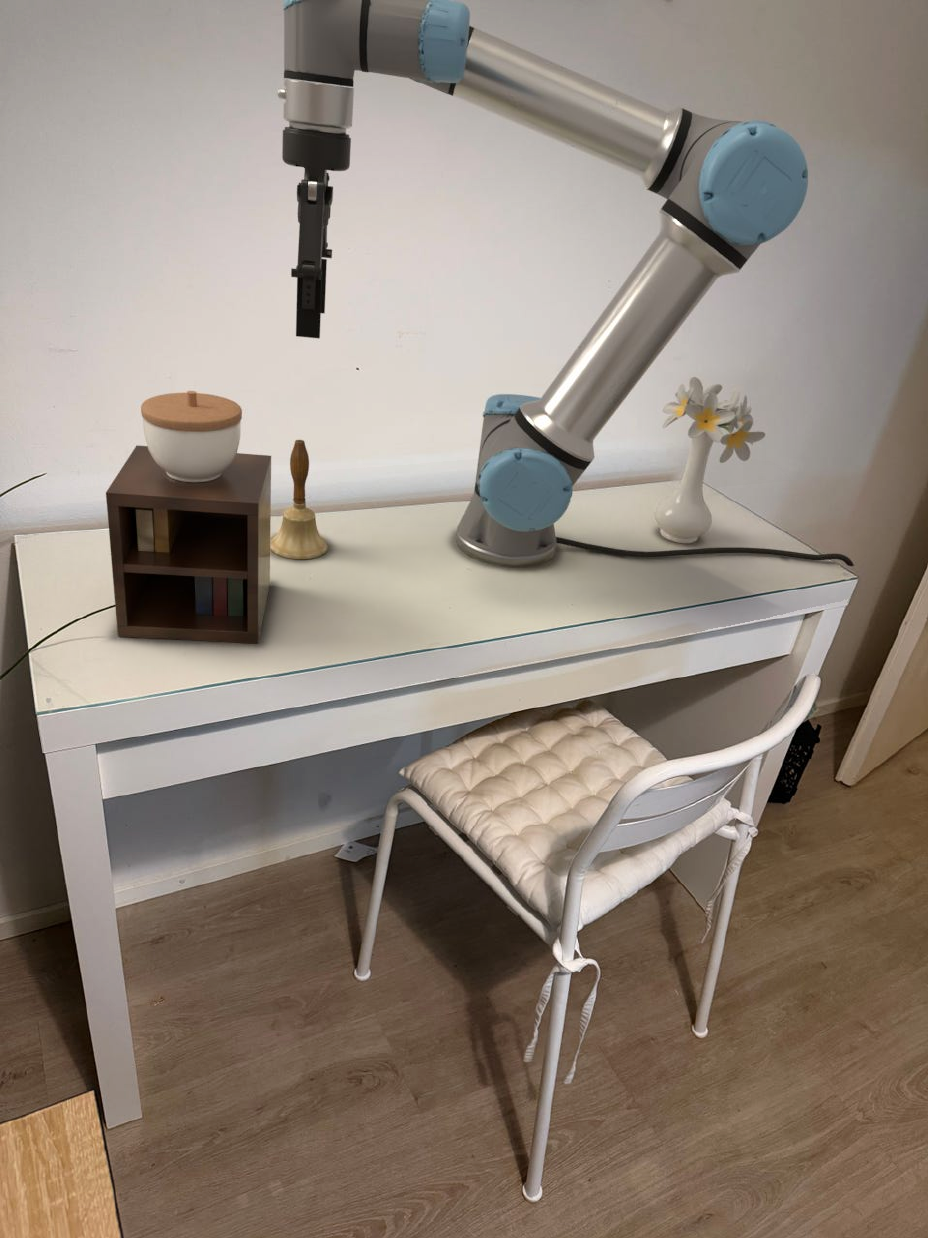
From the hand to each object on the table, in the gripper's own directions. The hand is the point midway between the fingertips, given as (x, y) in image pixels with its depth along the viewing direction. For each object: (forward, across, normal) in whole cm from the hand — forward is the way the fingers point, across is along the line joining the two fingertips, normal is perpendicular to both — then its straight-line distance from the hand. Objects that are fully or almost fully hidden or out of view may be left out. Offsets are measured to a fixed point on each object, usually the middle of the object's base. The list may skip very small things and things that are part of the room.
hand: (311, 323), depth 112 cm
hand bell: (+33, -5, -1) cm, 33 cm away
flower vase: (+33, -18, +61) cm, 72 cm away
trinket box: (+15, +14, -12) cm, 24 cm away
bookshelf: (+33, +14, -12) cm, 38 cm away
